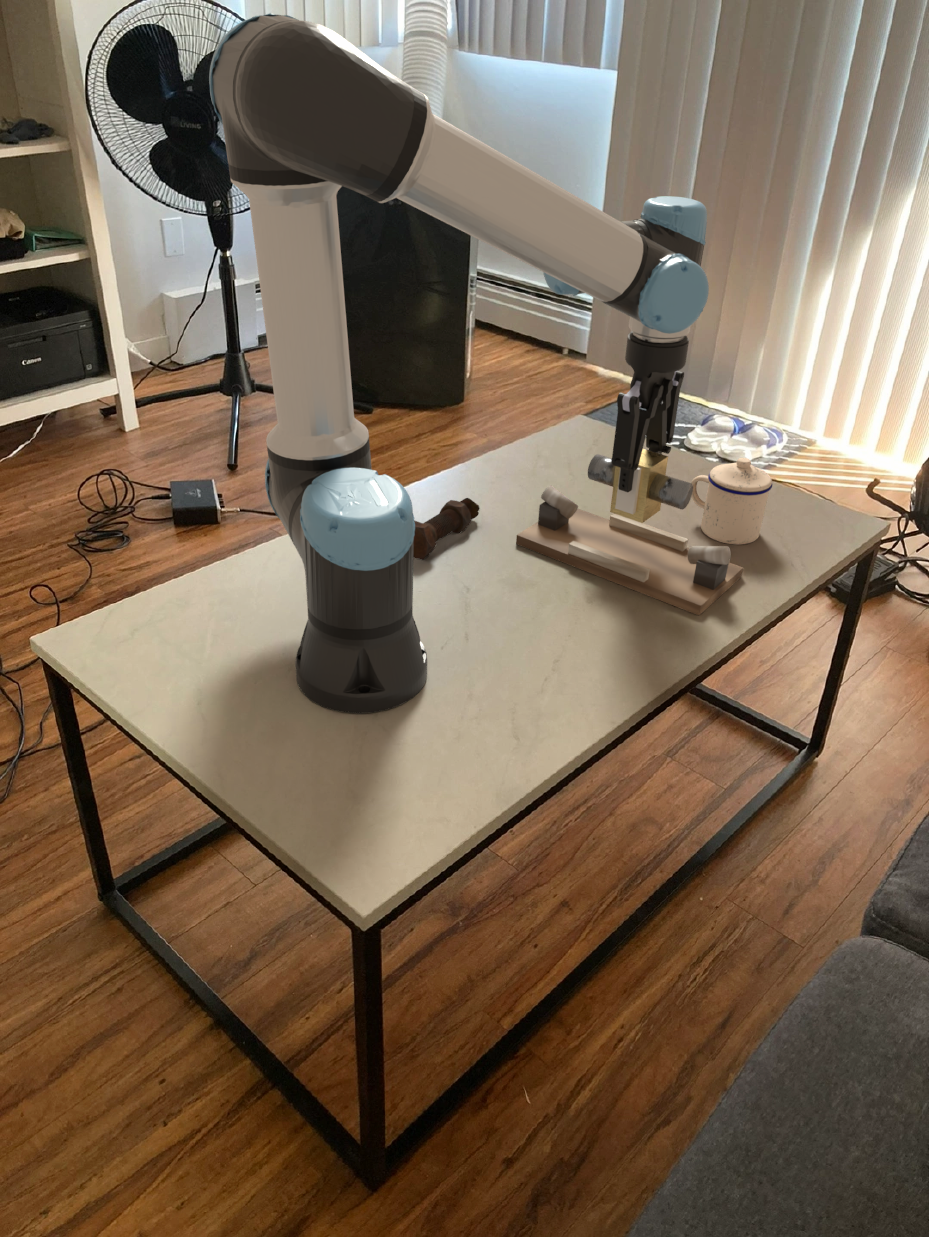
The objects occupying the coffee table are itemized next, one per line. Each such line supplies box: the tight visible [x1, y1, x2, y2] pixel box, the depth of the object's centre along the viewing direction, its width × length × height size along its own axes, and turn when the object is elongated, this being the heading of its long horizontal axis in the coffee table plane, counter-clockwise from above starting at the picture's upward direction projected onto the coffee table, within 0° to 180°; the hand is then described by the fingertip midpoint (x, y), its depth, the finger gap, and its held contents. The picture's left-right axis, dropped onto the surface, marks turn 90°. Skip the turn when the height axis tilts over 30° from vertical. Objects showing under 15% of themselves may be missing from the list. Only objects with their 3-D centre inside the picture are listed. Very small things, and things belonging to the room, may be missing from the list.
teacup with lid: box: [690, 457, 773, 545], centre depth 145 cm, size 12×9×12 cm
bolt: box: [413, 497, 481, 561], centre depth 142 cm, size 6×5×15 cm
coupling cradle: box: [515, 484, 744, 616], centre depth 137 cm, size 13×29×7 cm, turn 52°
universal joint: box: [587, 448, 693, 523], centre depth 133 cm, size 5×14×8 cm, turn 52°
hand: (635, 502), depth 135 cm, fingers closed on universal joint, 5 cm apart
